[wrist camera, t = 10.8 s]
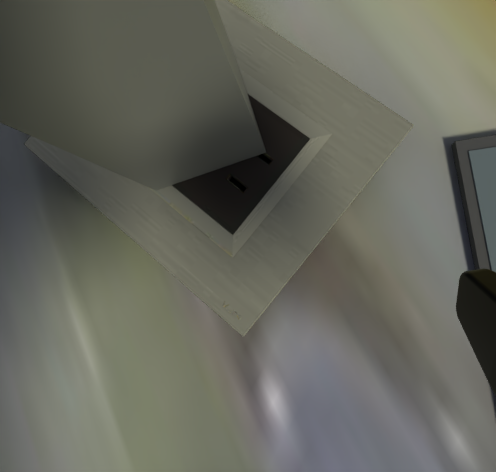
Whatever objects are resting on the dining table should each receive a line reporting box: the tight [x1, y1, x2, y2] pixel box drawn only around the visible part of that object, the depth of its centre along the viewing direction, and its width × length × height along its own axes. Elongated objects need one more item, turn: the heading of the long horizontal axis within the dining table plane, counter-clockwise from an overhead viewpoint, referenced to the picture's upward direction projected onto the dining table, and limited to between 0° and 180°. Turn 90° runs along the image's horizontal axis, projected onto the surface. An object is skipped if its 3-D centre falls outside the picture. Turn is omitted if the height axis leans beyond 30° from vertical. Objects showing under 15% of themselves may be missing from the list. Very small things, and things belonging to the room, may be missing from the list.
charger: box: [0, 0, 266, 190], centre depth 11 cm, size 4×5×13 cm
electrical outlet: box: [24, 0, 414, 336], centre depth 18 cm, size 13×10×2 cm
